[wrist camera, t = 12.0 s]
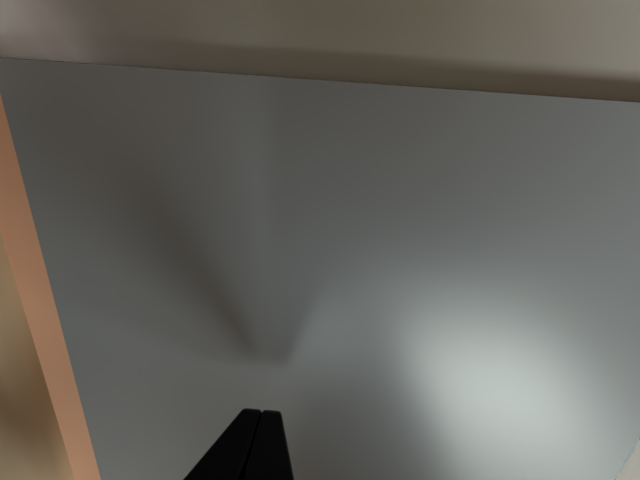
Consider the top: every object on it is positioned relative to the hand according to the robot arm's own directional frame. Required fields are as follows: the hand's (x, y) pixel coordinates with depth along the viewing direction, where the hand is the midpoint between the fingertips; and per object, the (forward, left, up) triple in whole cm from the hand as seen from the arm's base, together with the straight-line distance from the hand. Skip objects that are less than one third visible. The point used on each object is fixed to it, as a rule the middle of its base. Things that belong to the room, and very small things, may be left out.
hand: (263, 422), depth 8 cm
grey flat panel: (0, +5, -2) cm, 6 cm away
